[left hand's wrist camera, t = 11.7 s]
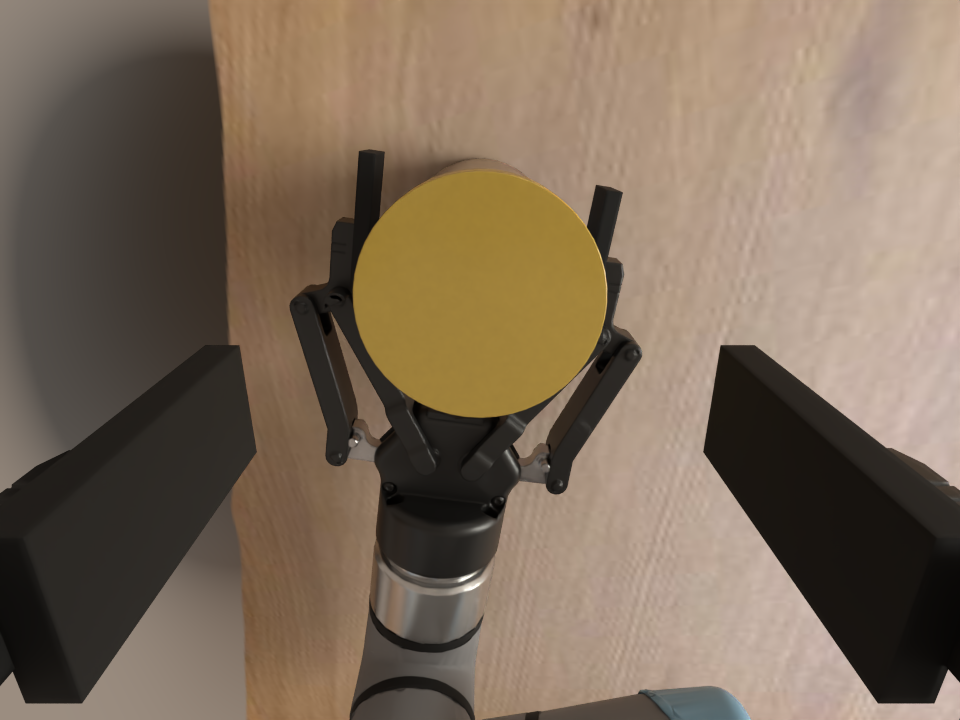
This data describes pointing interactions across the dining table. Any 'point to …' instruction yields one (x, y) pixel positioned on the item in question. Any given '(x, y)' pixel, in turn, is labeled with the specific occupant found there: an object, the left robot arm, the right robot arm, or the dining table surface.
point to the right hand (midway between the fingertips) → (491, 169)
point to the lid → (479, 293)
